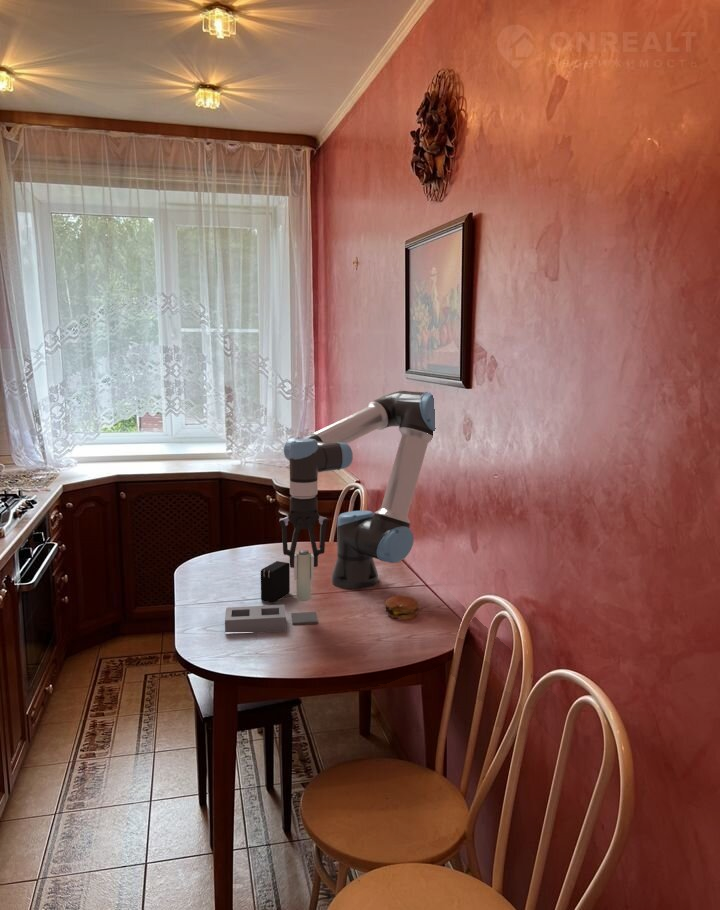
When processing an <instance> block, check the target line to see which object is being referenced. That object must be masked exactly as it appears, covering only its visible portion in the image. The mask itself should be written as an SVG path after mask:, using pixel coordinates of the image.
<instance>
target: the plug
mask: <svg viewBox="0 0 720 910" xmlns="http://www.w3.org/2000/svg"><path fill="white" fill-rule="evenodd" d="M295 554H296V556H297V580H296V600H297V601H299V602H308V601H310V600H311V599H312V580H311V554H312V552H310V550H307V549H300V550H299V551H297V552H295Z"/></svg>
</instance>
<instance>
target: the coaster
mask: <svg viewBox="0 0 720 910" xmlns="http://www.w3.org/2000/svg"><path fill="white" fill-rule="evenodd" d="M290 615H291V622H292V623H291V625H292V626H296V625H298V626H299V625H300V626H301V625H313V624H314V625H315V624H316V625H317V624H319V620H318V616H317V615H318V614H317V611H305V612H291V613H290Z"/></svg>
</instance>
